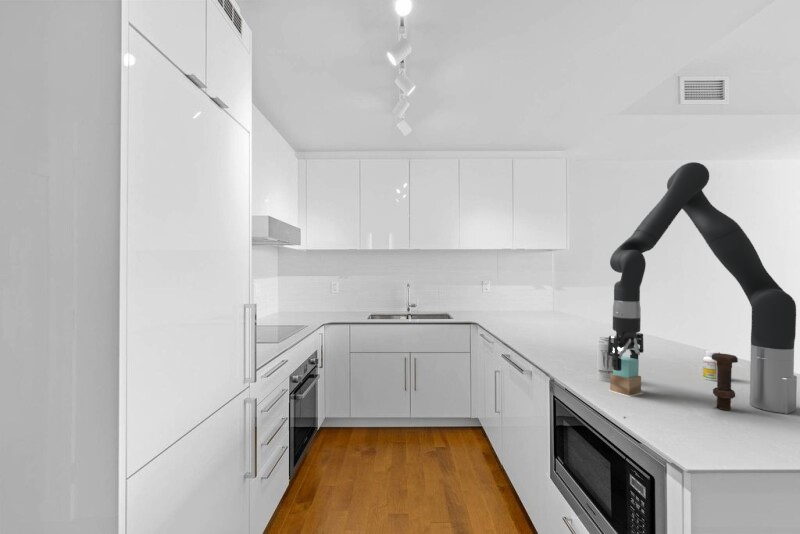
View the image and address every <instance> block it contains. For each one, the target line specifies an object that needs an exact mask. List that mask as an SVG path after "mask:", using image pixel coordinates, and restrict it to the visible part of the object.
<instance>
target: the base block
mask: <svg viewBox="0 0 800 534" xmlns="http://www.w3.org/2000/svg"><path fill="white" fill-rule="evenodd" d="M609 383H610V384H609V385H610V387H609V388H610V389H609V390H610V391H609V392H611V391H614V392H613V393H615V392H618V393H621V394H620V395H622V394H625V395H628V396H627V397H629V396H630V395H634V394H638V393H641V392H642V376H641V375H638V376H636V377H632V378H626V377H622V376H618V375H613V374H611V378H610V382H609ZM618 393H617V394H618ZM625 395H624V396H625Z"/></svg>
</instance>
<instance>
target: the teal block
mask: <svg viewBox="0 0 800 534" xmlns="http://www.w3.org/2000/svg"><path fill="white" fill-rule="evenodd" d="M621 359H622V361H621V371H616V370H614V369H613V375H618V376H622V377H626V378H632V377H636V376H639V367H640V366H639V362H640V361H639V358H638V359H633V358H630V357H627V356H623V355H622V357H621Z"/></svg>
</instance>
